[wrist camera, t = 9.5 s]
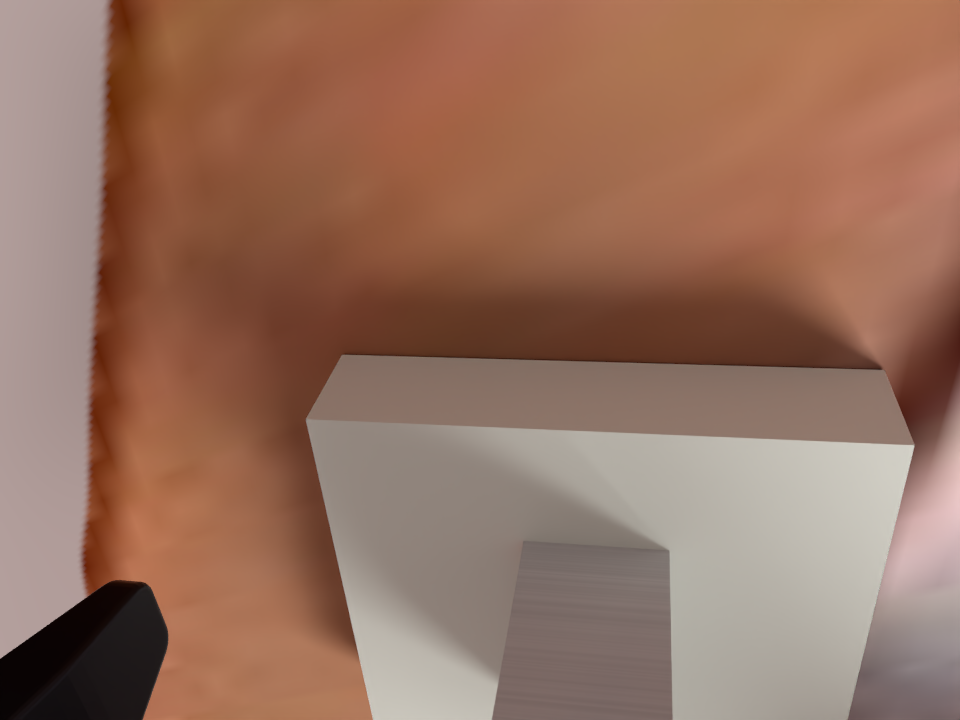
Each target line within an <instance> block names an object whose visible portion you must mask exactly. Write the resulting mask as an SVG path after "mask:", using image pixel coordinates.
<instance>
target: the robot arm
mask: <svg viewBox="0 0 960 720" xmlns="http://www.w3.org/2000/svg"><path fill="white" fill-rule="evenodd" d="M167 646H168V630H167V626H166V624H165V621H164V619H163V616H162V614H161V611H160V609H159V606H158V604H157V601H156V599H155V596H154V594H153V591H152V589H151V588H150V587H149V586H148V585H147V584H146V583H144V582H136V581H123V580H115V581H111V582H109V583H107V584H105V585H104V586H102V587H101V588H99V589H98V590H96V591H95V592H94V593H92V594H91V595H89V596H88V597H87V598H85V599H84V600H82V601H81V602H80V603H78V604H77V605H75V606H74V607H73V608H71V609H70V610H68V611H67V612H65V613H64V614H63V615H61V616H60V617H58V618H57V619H56V620H54V621H53V622H51V623H50V624H49V625H47V626H46V627H44V628H43V629H42V630H40V631H39V632H37V633H36V634H34V635H33V636H32V637H30V638H29V639H28V640H26V641H25V642H23V643H22V644H20V645H19V646H18V647H16V648H15V649H13V650H12V651H11V652H9V653H8V654H6V655H5V656H3V657H2V658H1V659H0V720H143V717H144V714H145V712H146V709H147V706H148V703H149V700H150V697H151V694H152V691H153V688H154V686H155V683H156V680H157V677H158V674H159V671H160V668H161V665H162V662H163V660H164V657H165V654H166V650H167Z"/></svg>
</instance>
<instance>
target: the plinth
mask: <svg viewBox="0 0 960 720" xmlns="http://www.w3.org/2000/svg"><path fill="white" fill-rule="evenodd" d="M306 423H307V427H308V432H309V436H310V441H311V445H312V450H313V454H314V459H315V463H316V467H317V472H318V476H319V481H320V485H321V490H322V494H323V499H324V503H325V507H326V512H327V516H328V521H329V525H330V530H331V534H332V539H333V543H334V547H335V552H336V556H337V561H338V565H339V570H340V574H341V579H342V583H343V588H344V592H345V596H346V601H347V605H348V610H349V614H350V619H351V623H352V628H353V632H354V636H355V641H356V645H357V650H358V654H359V659H360V663H361V668H362V672H363V677H364V681H365V685H366V690H367V694H368V699H369V703H370V708H371V712H372V717H373V720H492V716H493V710H494V704H495V699H496V693H497V687H498V682H499V676H500V670H501V665H502V659H503V654H504V648H505V642H506V637H507V631H508V625H509V620H510V614H511V608H512V603H513V597H514V592H515V586H516V580H517V575H518V569H519V563H520V558H521V552H522V546H523V541H532V542H548V543H563V544H578V545H593V546H608V547H624V548H639V549H654V550H669V553H670V606H671V660H672V714H673V720H847V719H848V715H849V711H850V707H851V703H852V699H853V695H854V691H855V687H856V683H857V678H858V674H859V670H860V666H861V662H862V658H863V654H864V650H865V646H866V642H867V638H868V634H869V629H870V625H871V621H872V617H873V613H874V609H875V605H876V601H877V597H878V593H879V589H880V585H881V580H882V576H883V572H884V568H885V564H886V560H887V556H888V552H889V548H890V544H891V540H892V535H893V531H894V527H895V523H896V519H897V515H898V511H899V507H900V503H901V499H902V495H903V491H904V486H905V482H906V478H907V474H908V470H909V466H910V462H911V458H912V454H913V450H914V446H915V445H914V443H913V440H912V438H911V435H910V433H909V430H908V428H907V425H906V423H905V420H904V418H903V415H902V413H901V410H900V408H899V405H898V403H897V400H896V398H895V395H894V393H893V390H892V388H891V385H890V383H889V380H888V378H887V375H886V373H885V370H867V369H832V368H797V367H761V366H726V365H691V364H655V363H620V362H585V361H550V360H514V359H479V358H444V357H408V356H373V355H342V356H341V357H340V359H339V361H338V363H337V364H336V366H335V368H334V370H333V372H332V373H331V375H330V377H329V379H328V380H327V382H326V384H325V386H324V388H323V389H322V391H321V393H320V395H319V396H318V398H317V400H316V402H315V404H314V405H313V407H312V409H311V411H310V412H309V414H308V416H307V418H306Z"/></svg>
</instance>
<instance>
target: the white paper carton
mask: <svg viewBox="0 0 960 720" xmlns="http://www.w3.org/2000/svg"><path fill="white" fill-rule="evenodd" d="M492 720H673V714H672V660H671V606H670V553H669V550H654V549H639V548H624V547H608V546H593V545H578V544H563V543H548V542H532V541H523V546H522V552H521V558H520V563H519V569H518V575H517V580H516V586H515V592H514V597H513V603H512V608H511V614H510V620H509V625H508V631H507V637H506V642H505V648H504V654H503V659H502V665H501V670H500V676H499V682H498V687H497V693H496V699H495V704H494V710H493V716H492Z"/></svg>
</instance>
